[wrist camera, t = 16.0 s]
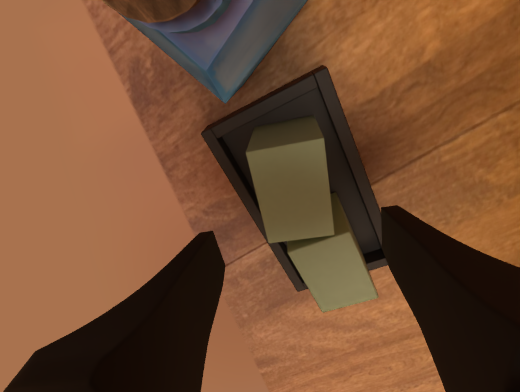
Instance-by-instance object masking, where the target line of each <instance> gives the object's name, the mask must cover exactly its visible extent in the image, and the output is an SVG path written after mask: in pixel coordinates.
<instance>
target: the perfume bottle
mask: <svg viewBox="0 0 520 392" xmlns="http://www.w3.org/2000/svg"><path fill="white" fill-rule="evenodd" d="M102 1H103V2H104V3H105V4H106V5H108V6H109V7H111V8H113V9H114V10H116V11H117V12H118V13H119V14H121V15H122V16H123V17H124V18H125V19H126V20H128V21H129V22H130V23H131V24H132V25H133V26H135V27H136V28H137V29H138V30H139V31H141V32H142V33H143V34H144V35H145V36H146V37H148V38H149V39H150V40H151V41H152V42H153V43H155V44H156V45H157V46H158V47H159V48H160V49H162V50H163V51H164V52H165V53H166V54H167V55H169V56H170V57H171V58H172V59H173V60H175V61H176V62H177V63H178V64H179V65H180V66H182V67H183V68H184V69H185V70H186V71H187V72H189V73H190V74H191V75H192V76H193V77H194V78H196V79H197V80H198V81H199V82H200V83H202V84H203V85H204V86H205V87H206V88H207V89H209V90H210V91H211V92H212V93H213V94H214V95H216V96H217V97H218V98H219V99H220V100H221V101H223V102H224V103H226V102H227V101H228V100H229V99H230V98H231V97H232V96H233V95H234V94H235V93H236V92H237V91H238V90H239V89H240V88H241V87H242V86H243V85H244V83H245V82H246V81H247V79H248V78H249V77H250V75H251V74H252V73H253V71H254V70H255V69H256V68H257V66H258V65H259V64H260V62H261V61H262V60H263V58H264V57H265V56H266V54H267V53H268V52H269V50H270V49H271V48H272V46H273V45H274V44H275V43H276V41H277V40H278V39H279V37H280V36H281V35H282V33H283V32H284V31H285V29H286V28H287V27H288V25H289V24H290V23H291V21H292V20H293V19H294V18H295V16H296V15H297V14H298V12H299V11H300V10H301V8H302V7H303V6H304V4H305V3H306V2H307V0H102Z"/></svg>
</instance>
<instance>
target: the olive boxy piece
mask: <svg viewBox="0 0 520 392" xmlns="http://www.w3.org/2000/svg"><path fill="white" fill-rule="evenodd" d="M246 156H247V160H248V164H249V168H250V172H251V176H252V180H253V184H254V188H255V192H256V195H257V199H258V203H259V207H260V211H261V215H262V219H263V223H264V227H265V231H266V235H267V239H268V243H276V242H284V241H291V240H299V239H307V238H315V237H323V236H331V235H335V232H334V223H333V214H332V205H331V196H330V187H329V178H328V169H327V160H326V151H325V143H324V137H323V135H322V133H321V130H320V128H319V126H318V123H317V121H316V119H315V116H314V115H312V116H307V117H302V118H297V119H292V120H287V121H282V122H277V123H272V124H267V125H262V126H257V127H254V130H253V133H252V136H251V139H250V142H249V145H248V148H247V150H246Z"/></svg>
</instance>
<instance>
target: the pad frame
mask: <svg viewBox="0 0 520 392" xmlns="http://www.w3.org/2000/svg"><path fill="white" fill-rule="evenodd" d="M312 115H314V116H315V119H316V121H317V123H318V126H319V128H320V130H321V133H322V135H323V137H324V143H325V151H326V160H327V169H328V178H329V187H330V194H332V193H334V192H336V193H337V196H338V198H339V200H340V203H341V205H342V207H343V209H344V212H345V214H346V216H347V219H348V221H349V223H350V226H351V228H352V230H353V232H354V235H355V237H356V239H357V242H358V244H359V246H360V249H361V251H362V254H363V256H364V259H365V262H366V264H367V267H368V270H369V271H370V270H373V269H377V268H380V267H383V266H387V265H388V263H387V260H386V258H385V255H384V252H383V249H382V227H381V212H380V210H379V207H378V204H377V202H376V199H375V196H374V193H373V191H372V188H371V185H370V183H369V180H368V177H367V174H366V172H365V169H364V166H363V164H362V161H361V158H360V155H359V153H358V150H357V147H356V145H355V142H354V139H353V136H352V134H351V131H350V128H349V126H348V123H347V120H346V117H345V115H344V112H343V109H342V107H341V104H340V101H339V98H338V96H337V93H336V90H335V88H334V85H333V82H332V79H331V77H330V74H329V71H328V69H327V67H325V66H323V65H322V66H320V67H318V68H316V69H314V70H312V71H311V72H309V73H307V74H305V75H303V76H301V77H299V78H297V79H295V80H294V81H292V82H290V83H288V84H286V85H284V86H282V87H280V88H278V89H277V90H275V91H273V92H271V93H269V94H267V95H265V96H263V97H261V98H260V99H258V100H256V101H254V102H252V103H250V104H248V105H246V106H244V107H243V108H241V109H239V110H237V111H235V112H233V113H231V114H229V115H227V116H225V117H224V118H222V119H220V120H218V121H216V122H214V123H212V124H210V125H208V126H207V127H206V128H205V129H204V130H203V131H202V133H201V135H202V137H203V138H204V140H205V142H206V143H207V145H208V146H209V148H210V150H211V151H212V153H213V155H214V156H215V158H216V159H217V161H218V163H219V164H220V166H221V168H222V169H223V171H224V173H225V174H226V176H227V177H228V179H229V181H230V182H231V184H232V186H233V187H234V189H235V190H236V192H237V194H238V195H239V197H240V199H241V200H242V202H243V203H244V205H245V207H246V208H247V210H248V212H249V213H250V215H251V217H252V218H253V220H254V221H255V223H256V225H257V226H258V228H259V230H260V231H261V233H262V234H263V236H264V238H265V239H266V241H267V243H268V239H267V235H266V231H265V227H264V223H263V219H262V215H261V211H260V207H259V203H258V199H257V195H256V192H255V188H254V184H253V180H252V176H251V172H250V168H249V164H248V160H247V156H246V150H247V148H248V145H249V142H250V139H251V136H252V133H253V130H254V127H257V126H262V125H267V124H272V123H277V122H282V121H287V120H292V119H297V118H302V117H307V116H312ZM268 244H269V246H270V247H271V249H272V251H273V252H274V254H275V256H276V257H277V259H278V261H279V262H280V264H281V265H282V267H283V269H284V270H285V272H286V274H287V275H288V277H289V278H290V280H291V282H292V283H293V285H294V287H295V288H296V290H297V291H298V292H299V291H302V290H305V289H308V287H307V285H306V283H305V282H304V280H303V278H302V277H301V275H300V273H299V272H298V270H297V268H296V266H295V265H294V263H293V261H292V260H291V258H290V256H289V254H288V246H287V241H284V242H276V243H268Z"/></svg>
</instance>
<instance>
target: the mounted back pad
mask: <svg viewBox="0 0 520 392" xmlns="http://www.w3.org/2000/svg"><path fill="white" fill-rule="evenodd" d="M330 196H331V205H332V214H333V223H334V232H335V235H331V236H323V237H315V238H307V239H299V240H291V241H287V246H288V254H289V256H290V258H291V260H292V261H293V263H294V265H295V266H296V268H297V270H298V272H299V273H300V275H301V277H302V278H303V280H304V282H305V283H306V285H307V287H308V289H309V290H310V292H311V294H312V295H313V297H314V299H315V301H316V302H317V304H318V306H319V307H320V309H321V311H322V312H327V311H331V310H335V309H338V308H342V307H346V306H350V305H353V304H357V303H361V302H365V301H368V300H372V299H376V298H378V293H377V291H376V288H375V286H374V283H373V280H372V278H371V275H370V272H369V270H368V267H367V264H366V262H365V259H364V256H363V254H362V251H361V249H360V246H359V244H358V242H357V239H356V237H355V235H354V232H353V230H352V228H351V226H350V223H349V221H348V219H347V216H346V214H345V212H344V209H343V207H342V205H341V203H340V200H339V198H338V196H337V193H336V192H334V193H332V194H330Z"/></svg>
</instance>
